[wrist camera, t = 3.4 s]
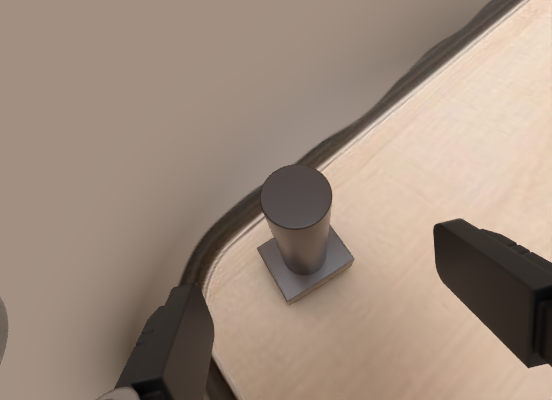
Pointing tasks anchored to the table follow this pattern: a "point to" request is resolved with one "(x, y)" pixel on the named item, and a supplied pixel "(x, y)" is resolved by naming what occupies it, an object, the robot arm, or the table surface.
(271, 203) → the brown peg on base
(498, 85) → the table surface
